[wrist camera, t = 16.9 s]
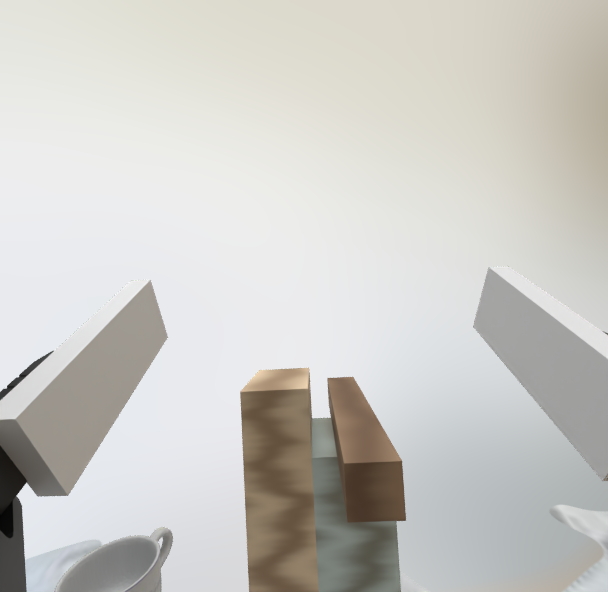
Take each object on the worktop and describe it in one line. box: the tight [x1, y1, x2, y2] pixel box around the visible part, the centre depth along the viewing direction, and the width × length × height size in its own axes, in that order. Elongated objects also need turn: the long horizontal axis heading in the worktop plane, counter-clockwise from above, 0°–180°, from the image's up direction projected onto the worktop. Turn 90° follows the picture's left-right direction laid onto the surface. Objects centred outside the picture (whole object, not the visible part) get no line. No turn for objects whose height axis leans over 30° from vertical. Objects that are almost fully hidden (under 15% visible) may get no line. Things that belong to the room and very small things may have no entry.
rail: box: [328, 377, 406, 523], centre depth 31 cm, size 4×24×4 cm, turn 178°
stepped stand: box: [241, 368, 401, 592], centre depth 32 cm, size 13×10×30 cm
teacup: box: [54, 527, 173, 592], centre depth 39 cm, size 14×11×8 cm
